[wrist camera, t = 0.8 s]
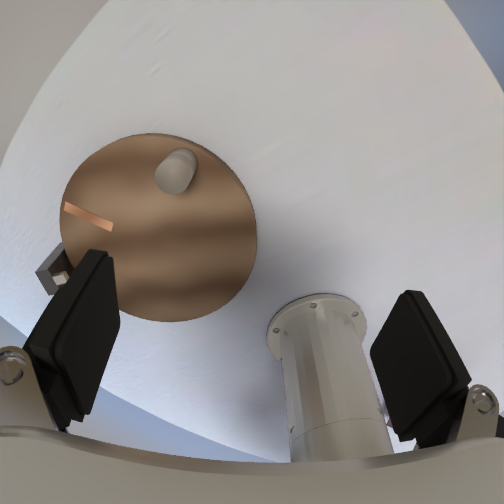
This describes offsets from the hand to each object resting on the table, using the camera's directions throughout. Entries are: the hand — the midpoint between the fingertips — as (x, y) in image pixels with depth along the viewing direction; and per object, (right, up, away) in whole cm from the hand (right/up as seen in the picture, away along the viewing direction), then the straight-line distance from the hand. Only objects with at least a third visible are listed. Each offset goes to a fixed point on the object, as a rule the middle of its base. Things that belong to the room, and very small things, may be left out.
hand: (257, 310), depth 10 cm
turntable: (-10, +4, +22) cm, 24 cm away
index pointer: (-21, +2, +23) cm, 31 cm away
